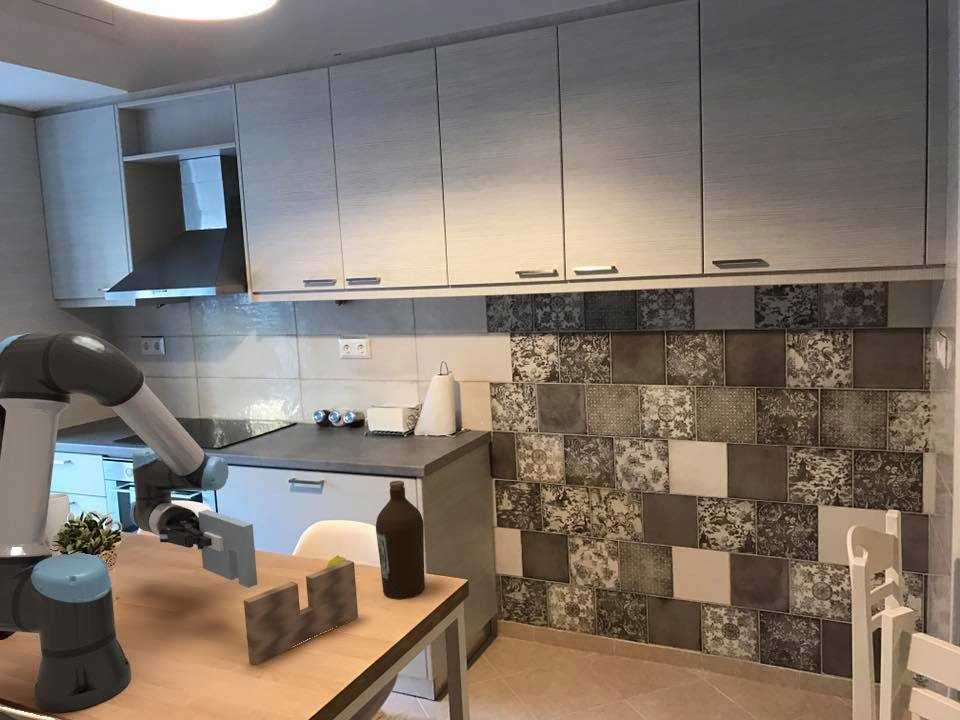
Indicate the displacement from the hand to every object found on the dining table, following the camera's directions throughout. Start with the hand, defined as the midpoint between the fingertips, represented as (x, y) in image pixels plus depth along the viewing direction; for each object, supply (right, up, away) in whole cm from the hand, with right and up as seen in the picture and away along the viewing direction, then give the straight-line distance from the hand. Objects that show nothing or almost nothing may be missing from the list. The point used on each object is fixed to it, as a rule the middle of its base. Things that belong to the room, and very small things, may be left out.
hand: (227, 542), depth 148 cm
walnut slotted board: (+16, -18, -2) cm, 25 cm away
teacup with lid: (-54, -17, +57) cm, 80 cm away
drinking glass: (-68, -17, +62) cm, 94 cm away
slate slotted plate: (0, -7, +1) cm, 7 cm away
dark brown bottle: (+33, -16, +19) cm, 41 cm away
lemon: (+18, -16, +21) cm, 33 cm away
